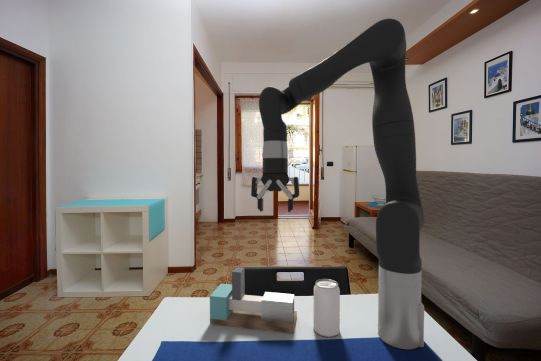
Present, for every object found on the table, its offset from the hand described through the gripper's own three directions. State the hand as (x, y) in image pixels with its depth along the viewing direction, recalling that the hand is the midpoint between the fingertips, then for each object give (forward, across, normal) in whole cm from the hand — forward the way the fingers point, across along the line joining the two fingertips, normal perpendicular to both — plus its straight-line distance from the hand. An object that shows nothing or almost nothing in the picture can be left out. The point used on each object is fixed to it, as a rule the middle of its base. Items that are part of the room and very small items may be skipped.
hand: (275, 211), depth 81 cm
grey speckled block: (+27, -2, +10) cm, 29 cm away
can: (+28, -15, +11) cm, 34 cm away
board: (+28, +4, +10) cm, 30 cm away
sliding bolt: (+25, +6, +10) cm, 28 cm away
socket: (+27, +13, +10) cm, 31 cm away
